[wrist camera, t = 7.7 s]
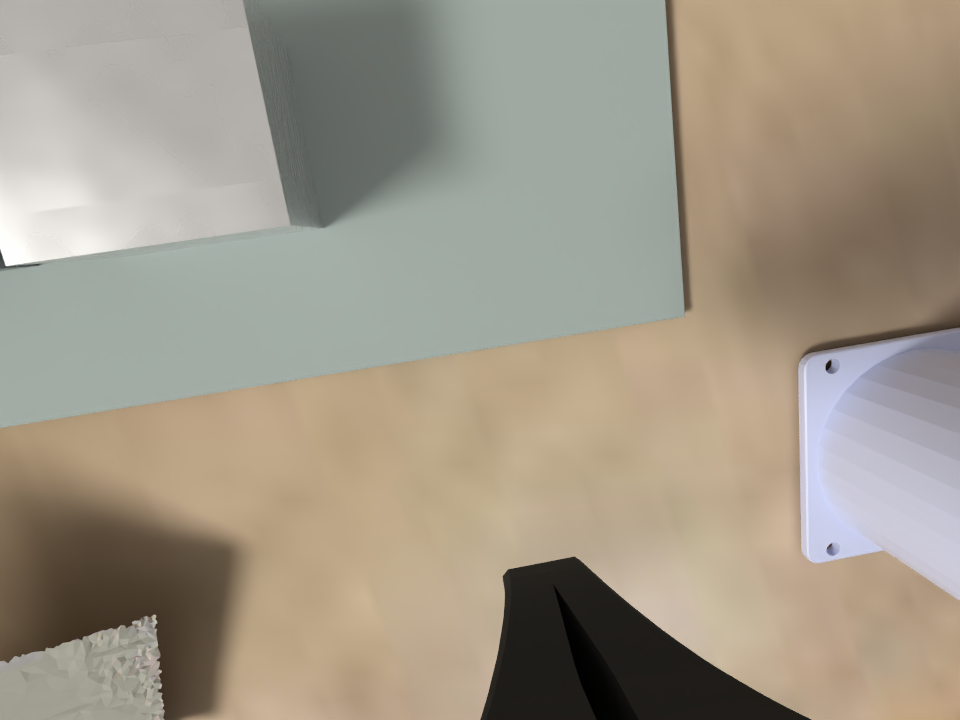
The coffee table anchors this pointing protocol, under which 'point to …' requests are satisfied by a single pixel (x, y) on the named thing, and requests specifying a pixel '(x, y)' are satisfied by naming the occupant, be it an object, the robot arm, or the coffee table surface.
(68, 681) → the grey slanted panel
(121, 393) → the mat
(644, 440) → the coffee table surface
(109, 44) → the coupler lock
